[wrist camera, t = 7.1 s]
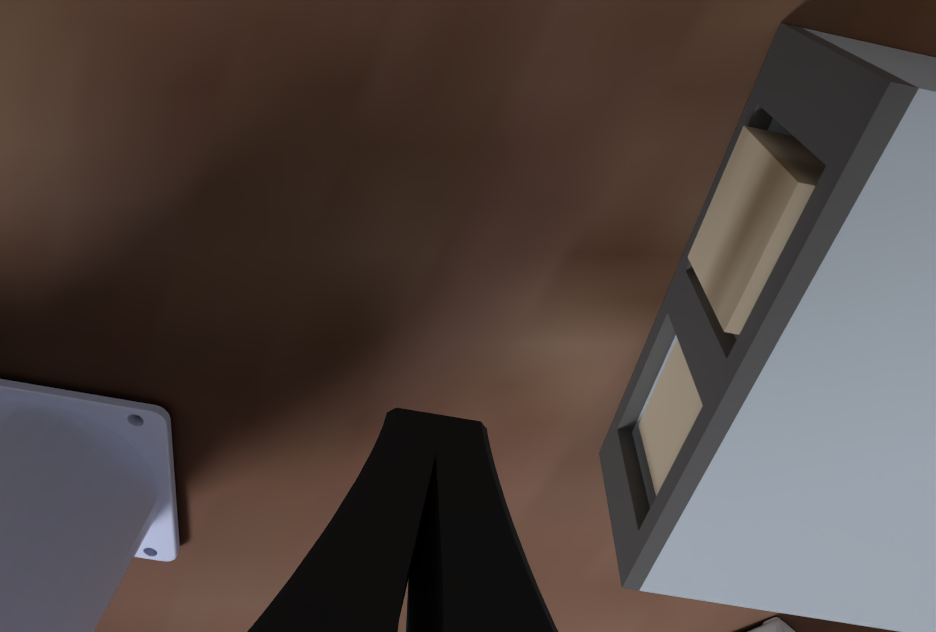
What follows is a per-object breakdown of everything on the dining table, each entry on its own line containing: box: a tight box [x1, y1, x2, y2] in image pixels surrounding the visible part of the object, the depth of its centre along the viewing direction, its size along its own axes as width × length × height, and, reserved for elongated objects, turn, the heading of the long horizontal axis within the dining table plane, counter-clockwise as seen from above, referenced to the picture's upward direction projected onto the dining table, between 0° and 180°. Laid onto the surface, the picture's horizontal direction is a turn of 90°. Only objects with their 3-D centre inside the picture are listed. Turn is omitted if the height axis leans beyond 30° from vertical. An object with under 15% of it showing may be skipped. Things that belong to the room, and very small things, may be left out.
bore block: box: [599, 23, 936, 632], centre depth 17 cm, size 10×14×5 cm
